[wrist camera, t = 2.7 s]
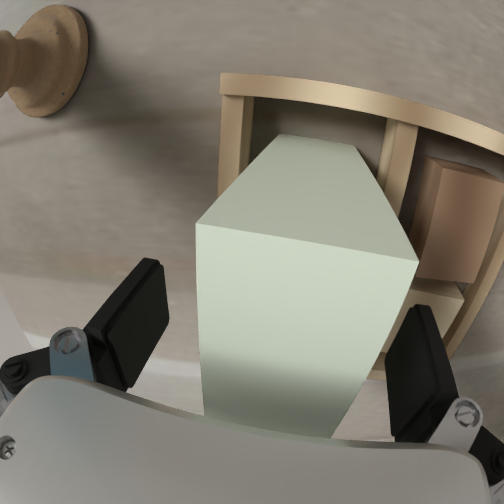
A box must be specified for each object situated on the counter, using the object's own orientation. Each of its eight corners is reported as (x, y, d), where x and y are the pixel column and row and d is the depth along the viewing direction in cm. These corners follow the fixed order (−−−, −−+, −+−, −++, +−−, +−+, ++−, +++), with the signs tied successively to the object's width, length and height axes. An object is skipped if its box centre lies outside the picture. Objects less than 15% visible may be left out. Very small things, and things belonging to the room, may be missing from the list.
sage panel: (354, 145, 15) (419, 262, 5) (318, 309, 21) (300, 479, 10) (279, 133, 16) (195, 223, 5) (261, 298, 21) (209, 461, 11)
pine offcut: (450, 272, 17) (464, 300, 15) (421, 328, 20) (429, 358, 17) (399, 261, 18) (409, 289, 15) (374, 320, 20) (378, 351, 18)
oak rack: (524, 147, 12) (552, 159, 9) (439, 355, 21) (446, 384, 18) (237, 75, 14) (220, 72, 12) (224, 323, 23) (212, 352, 20)
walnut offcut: (481, 168, 14) (505, 183, 11) (457, 257, 17) (473, 283, 14) (423, 154, 14) (442, 167, 12) (404, 250, 17) (415, 276, 15)
